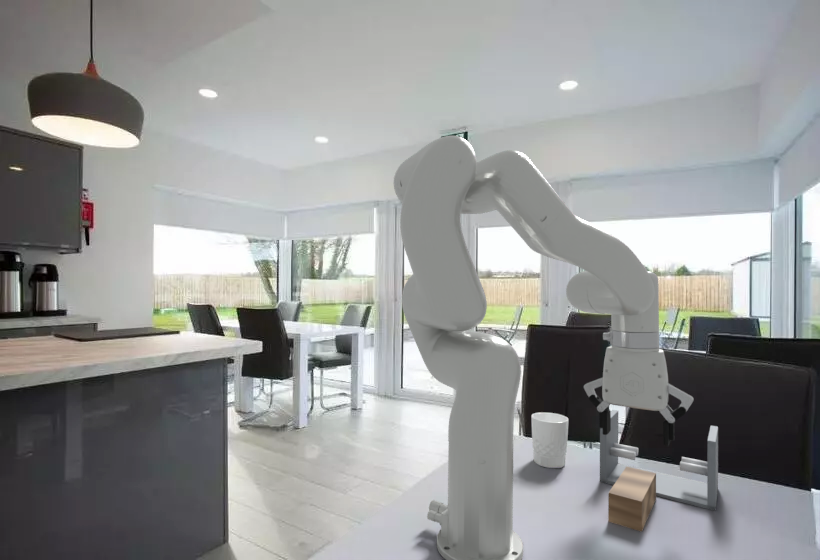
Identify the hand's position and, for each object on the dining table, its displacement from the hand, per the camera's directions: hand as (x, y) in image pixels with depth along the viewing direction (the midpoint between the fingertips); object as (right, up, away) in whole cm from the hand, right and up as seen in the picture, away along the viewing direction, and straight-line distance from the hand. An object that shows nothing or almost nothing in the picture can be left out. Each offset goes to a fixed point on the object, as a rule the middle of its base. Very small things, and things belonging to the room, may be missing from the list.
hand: (635, 438), depth 79 cm
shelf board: (-1, -13, 0) cm, 13 cm away
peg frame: (+9, -13, +10) cm, 18 cm away
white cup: (-9, -13, +21) cm, 26 cm away
